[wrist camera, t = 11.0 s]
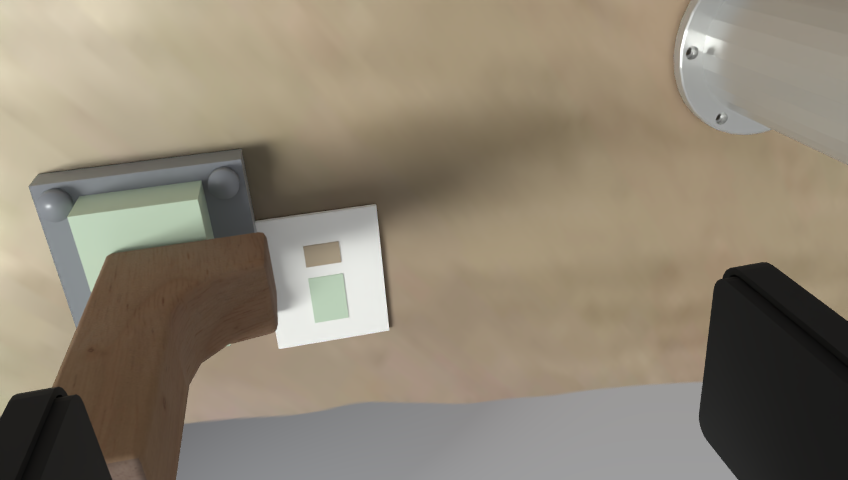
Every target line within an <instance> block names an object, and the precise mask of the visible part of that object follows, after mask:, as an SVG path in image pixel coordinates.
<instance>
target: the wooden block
mask: <svg viewBox="0 0 848 480" xmlns="http://www.w3.org/2000/svg"><path fill="white" fill-rule="evenodd" d="M277 326H278V310H277V291H276V285H275V280H274V274H273V269H272V263H271V258H270V252H269V247H268V241H267V237H266V236H265V234H264V233H262V232H256V233H249V234H242V235H235V236H229V237H222V238H215V239H208V240H201V241H194V242H187V243H180V244H173V245H166V246H159V247H152V248H145V249H138V250H131V251H125V252H118V253H112V254H110V255H108V256H106V259H105V261H104V264H103V266H102V268H101V271H100V273H99V276H98V278H97V280H96V283H95V285H94V288H93V290H92V292H91V295H90V297H89V300H88V302H87V304H86V307H85V309H84V312H83V314H82V316H81V319H80V321H79V324H78V326H77V329H76V331H75V333H74V336H73V338H72V341H71V343H70V346H69V348H68V350H67V353H66V355H65V358H64V360H63V362H62V365H61V367H60V370H59V372H58V374H57V377H56V379H55V382H54V384H53V386H52V388H53V387H61V388H63V389H64V390H65V391H66V393H67V395H68V396H69V395H75V394H77V395H79V396H80V397H81V399H82V401H83V403H84V405H85V408H86V411H87V413H88V416H89V419H90V421H91V424H92V427H93V429H94V432H95V435H96V437H97V440H98V443H99V445H100V448H101V451H102V453H103V456H104V459H105V461H106V464H107V467H108V469H109V472H110V475H111V478H112V480H176V475H177V468H178V461H179V453H180V447H181V439H182V432H183V425H184V418H185V411H186V404H187V397H188V390H189V385H190V383H191V381H192V379H193V377H194V375H195V374H196V372H197V370H198V368H199V366H200V365H201V363H202V362H204V361H205V360H207V359H208V358H210V357H211V356H213V355H214V354H215V353H217V352H218V351H220V350H221V349H223V348H224V347H226V346H227V345H229V344H232V343H236V342H240V341H244V340H248V339H251V338H255V337H259V336H263V335H267V334H271V333H273V332H275V331H276V330H277Z"/></svg>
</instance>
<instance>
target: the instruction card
mask: <svg viewBox="0 0 848 480" xmlns="http://www.w3.org/2000/svg"><path fill="white" fill-rule="evenodd" d="M255 225H256V230H257V232H262V233H264V234H265V236H266V237H267V241H268V247H269V252H270V258H271V263H272V269H273V274H274V280H275V285H276V291H277V310H278V326H277V330H276V336H277V341H278V347H279V349H282V348H288V347H294V346H300V345H306V344H311V343H317V342H323V341H329V340H335V339H341V338H347V337H353V336H359V335H365V334H371V333H377V332H383V331H389V323H388V313H387V304H386V294H385V284H384V275H383V265H382V255H381V246H380V236H379V226H378V217H377V207H376V204H371V205H364V206H357V207H350V208H343V209H336V210H329V211H322V212H315V213H308V214H301V215H293V216H286V217H279V218H272V219H265V220H258V221H255Z"/></svg>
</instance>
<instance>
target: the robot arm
mask: <svg viewBox="0 0 848 480" xmlns="http://www.w3.org/2000/svg"><path fill="white" fill-rule="evenodd" d="M687 50H688V51H687ZM686 52H687V53H686ZM674 75H675V79H676V83H677V87H678V90H679V93H680V95H681V97H682V99H683V101H684V103H685V104H686V106H687V107H688V108H689V109H690V111H691V112H692V113H693V114H694V115H695V116H696V117H697V118H699V119H700V120H701V121H703V122H704V123H705V124H707V125H709V126H711V127H713V128H715V129H717V130H720V131H723V132H726V133H730V134H738V135H751V134H758V133H763V132H766V131H769V130H774V131H776V132H779V133H781V134H783V135H785V136H787V137H789V138H791V139H793V140H796V141H798V142H800V143H802V144H804V145H806V146H808V147H810V148H812V149H815V150H817V151H819V152H821V153H823V154H825V155H827V156H829V157H831V158H834V159H836V160H838V161H840V162H842V163H844V164H846V165H848V0H691V1H690V3H689V5H688V7H687V9H686V11H685V13H684V15H683V17H682V20H681V23H680V26H679V30H678V33H677V36H676V42H675V49H674ZM699 422H700V427H701V430H702V432H703V434H704V437H705V438H706V440H707V441H708V442H709V444H710V445H711V446H712V447H713V449H714V450H715V451H716V452H717V454H718V455H719V456H720V457H721V459H722V460H723V461H724V462H725V464H726V465H727V466H728V468H729V469H730V470H731V471H732V473H733V474H734V475H735V476H736V477H737V479H738V480H848V321H847V320H845V319H844V318H843V317H841V316H840V315H839V314H837V313H836V312H835V311H833V310H832V309H831V308H829V307H828V306H827V305H825V304H824V303H823V302H821V301H820V300H819V299H817V298H816V297H815V296H813V295H812V294H811V293H809V292H808V291H807V290H805V289H804V288H803V287H801V286H800V285H798V284H797V283H796V282H794V281H793V280H792V279H790V278H789V277H788V276H786V275H785V274H784V273H782V272H781V271H780V270H778V269H777V268H776V267H774V266H773V265H771V264H769V263H767V262H761V263H756V264H750V265H744V266H739V267H733V268H730V269H728V270H726V272H725V273H724V275H723V279H720V280H718V281H717V282H716V284H715V286H714V292H713V300H712V309H711V317H710V326H709V334H708V343H707V351H706V360H705V368H704V377H703V386H702V394H701V402H700V411H699ZM0 480H112V478H111V475H110V472H109V469H108V467H107V464H106V461H105V459H104V456H103V453H102V451H101V448H100V445H99V443H98V440H97V437H96V435H95V432H94V429H93V427H92V424H91V421H90V419H89V416H88V413H87V411H86V408H85V405H84V403H83V401H82V399H81V397H80V396H79V395H77V394H75V395H69V396H68V395H67V393H66V391H65V390H64V389H63V388H61V387H53V388H48V389H42V390H36V391H31V392H25V393H19V394H16V395H14V396H12V398H11V399H10V400H9V402H8V404H7V406H6V408H5V410H4V412H3V414H2V416H1V418H0Z"/></svg>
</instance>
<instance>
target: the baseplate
mask: <svg viewBox="0 0 848 480" xmlns="http://www.w3.org/2000/svg"><path fill="white" fill-rule="evenodd" d="M29 189H30V192H31V195H32V198H33V201H34V204H35V207H36V210H37V213H38V216H39V219H40V222H41V225H42V228H43V231H44V234H45V237H46V240H47V243H48V245H49V248H50V251H51V254H52V257H53V260H54V263H55V266H56V269H57V272H58V275H59V278H60V281H61V284H62V287H63V290H64V293H65V296H66V299H67V302H68V305H69V308H70V311H71V314H72V317H73V320H74V323H75V326H76V329H77V326H78V324H79V321H80V319H81V316H82V314H83V312H84V309H85V307H86V304H87V302H88V300H89V297H90V295H91V292H92V290H93V288H94V285H95V283H96V280H97V278H98V276H99V273H100V271H101V268H102V266H103V264H104V261H105V259H106V256H108V255H110V254H112V253H118V252H125V251H131V250H138V249H145V248H152V247H159V246H166V245H173V244H180V243H187V242H194V241H201V240H208V239H215V238H222V237H229V236H235V235H242V234H249V233H256V232H257V230H256V225H255V217H254V212H253V207H252V202H251V196H250V191H249V186H248V180H247V175H246V170H245V164H244V159H243V154H242V149H234V150H227V151H219V152H211V153H203V154H195V155H187V156H179V157H171V158H163V159H155V160H147V161H139V162H131V163H123V164H115V165H107V166H100V167H92V168H84V169H76V170H68V171H60V172H52V173H44V174H38V175H37V176H36V177H35V179H34V180H33V181H32V183H31V184H30V185H29ZM227 346H231V344H229V345H227Z"/></svg>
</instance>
